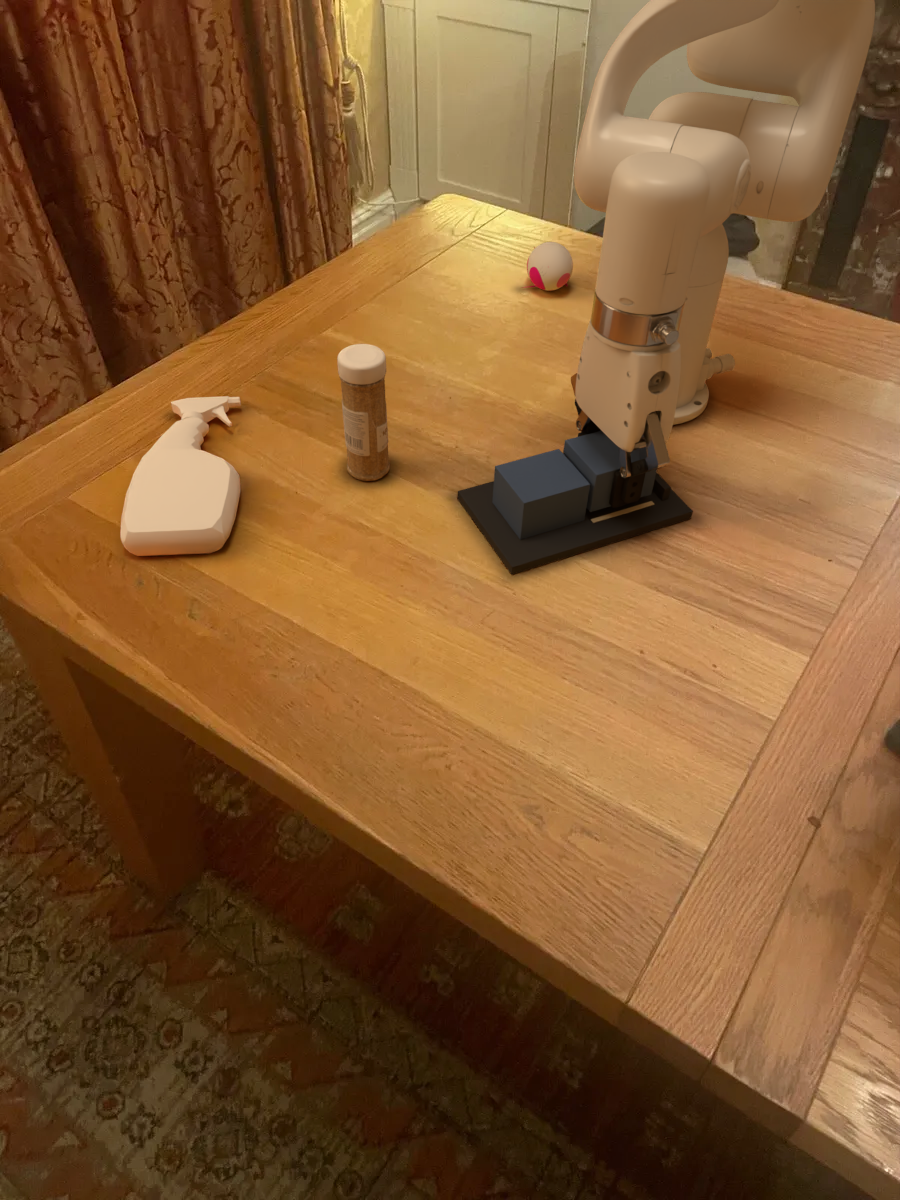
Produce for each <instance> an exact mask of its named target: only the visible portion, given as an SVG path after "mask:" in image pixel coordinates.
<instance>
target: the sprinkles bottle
mask: <svg viewBox="0 0 900 1200" xmlns="http://www.w3.org/2000/svg"><path fill="white" fill-rule="evenodd" d="M336 360H337V362H336V363H337V374H338V376H339V380H340V387H341V406H342V420H343V431H344V444H345V446H346V456H347V464H346V471H347V472H348V474H349V475H350V476H351V477H353V478H354V479H356V480H360V481H363V482H370V481H371V482H372V481H377V480H379V479H382V478H383V477H385V476H386V475H387V474H388V473H389V472H390V468H391V462H390V458H389V457H390V455H389V430H388V412H387V410H388V409H387V399H386V384H385V383H386V380H385V379H386V374H387V358H386V354H385V351H384V350H383V349H382V348H380V347H379V346H377V345H374V344H369V343H355V344H351V345H348V346H346V347H344V348H343V349H341V350H340V351H339V353H338V354H337V359H336Z"/></svg>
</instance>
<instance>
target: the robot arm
mask: <svg viewBox="0 0 900 1200" xmlns="http://www.w3.org/2000/svg"><path fill="white" fill-rule="evenodd" d="M875 19H876V2H875V0H649V1H648V2H647V3H646V4H644V5H643V6H642V8H640V10H638V11H637V13H636V14H634V15H633V16H632V18H630V20H629V21H628V22H627V24H626V25H625V26H624V27H623V29H622V30H621V31H620V32H619V33H618V35H617V37H616V38H615V39H614V41H613V42H612V44H611V45H610V47H609V49H608V50H607V52H606V54H605V56H604V58H603V60H602V62H601V63H600V66H599V68H598V70H597V73H596V75H595V78H594V82H593V85H592V89H591V93H590V96H589V101H588V104H587V108H586V113H585V115H584V120H583V123H582V128H581V132H580V136H579V140H578V145H577V149H576V154H575V161H574V167H573V168H574V169H573V184H574V185H573V186H574V189H575V193H576V195H577V197H578V198H579V200H580V201H581V203H582V204H584V206H586V207H588V208H590V209H591V210H594V211H597V212H601V213H604V214H605V218H604V226H603V233H602V240H601V247H600V254H599V259H598V260H599V261H598V269H597V275H596V282H595V289H594V295H593V299H592V300H593V301H592V309H591V315H590V318H589V321H588V324H587V328H586V330H585V334H584V339H583V343H582V346H581V351H580V355H579V359H578V360H579V361H578V365H577V372H576V373H574V374H573V375H571V376H570V383H571V387H572V391H573V394H574V398H575V399H574V406H575V408H576V412H577V415H578V416H577V418H576V420H575V427H576V429H577V431H578V433H577V437H579V436H583V435H587V434H591V433H594V432H598V431H603V432H604V434H605V435H606V436H607V437H608V438H609V439H611V440H612V441H613V442H614V443H615V444H616V445H617V446H618V448H619V465H620V471H618V472H615V475H614V480H613V486H612V491H611V496H610V502H609V504H610V505H611V506H612V507H613V508H616V507H620V506H623V505H627V504H630V503H633V502H637V501H638V500H639V499H640V497H641V492H642V488H643V483H644V478H645V474H646V472H650V471H652V470H655V469H657V470H658V469H661V468H664V467H667V466H669V465H670V464H671V459H670V455H669V450H668V447H667V443H668V442H669V440H670V437H671V434H672V430H673V426H674V425H679V424H683V423H687V422H689V421H692V420H694V419H695V418H697V417H699V416H700V415H702V413H703V412H704V411H705V410H706V408H707V406H708V402H709V397H710V390H709V387H708V385H707V383H706V381H707V380H709V379H711V378H712V377H713V376H714V375H715V374H723V373H726V372H730V371H733V370H734V368H735V365H736V361H735V358H734V355H732V354H731V353H726V354H722V355H718V356H715V357H713V358H712V356H713V354H712V352H713V351H712V349H711V348H709V347H708V344H709V341H710V340H709V339H710V335H711V332H712V327H713V324H714V320H715V315H716V311H717V307H718V302H719V299H720V295H721V291H722V286H723V283H724V280H725V279H724V278H725V274H726V271H727V268H728V267H727V266H728V262H729V255H730V249H729V248H730V247H729V239H728V236H727V232H726V229H725V227H724V222H725V221H726V220H728V218H730V216H731V215H732V214H735V215H741V216H746V217H747V216H748V217H753V218H759V219H765V220H770V221H777V222H784V223H785V222H787V223H794V222H801V221H803V220H805V219H807V218H808V217H810V216H811V215H812V214H813V213H814V212H815V211H816V209H818V207H819V205H820V203H821V201H822V200H823V197H824V195H825V193H826V191H827V188H828V186H829V183H830V180H831V177H832V173H833V171H834V168H835V164H836V161H837V157H838V154H839V151H840V148H841V144H842V141H843V138H844V134H845V131H846V128H847V124H848V120H849V117H850V114H851V111H852V108H853V104H854V101H855V97H856V95H857V91H858V88H859V84H860V81H861V77H862V74H863V70H864V67H865V65H866V61H867V56H868V53H869V49H870V45H871V42H872V38H873V32H874V28H875V27H874V26H875ZM684 46H686V61H687V65H688V68H689V70H690V72H691V73H692V74H693V76H694V77H696V78H697V79H699V80H701V81H703V82H705V83H708V84H712V85H716V86H719V87H723V88H724V87H725V88H729V89H730V88H731V89H735V90H742V91H747V92H750V91H751V92H757V93H761V94H762V93H764V94H770V95H776V96H777V95H779V96H785V97H789V98H793V99H794V100H795V101H796V103H797V105H794V104H787V103H780V102H773V101H767V100H766V101H765V100H758V99H754V98H751V97H745V96H744V97H743V96H736V95H729V94H722V93H715V92H707V91H685V92H679V93H676V94H673V95H670V96H669V97H667V98H665V99H664V100H662V101H661V102H660V103H658V104H657V106H656V107H655V108H654V109H653V110H652V112H651V114H650V115H649V117H648V118H644V117H636V116H629V115H628V116H627V115H625V114H624V113H625V110H626V107H627V104H628V101H629V99H630V96H631V94H632V92H633V90H634V89H635V86H636V85H637V83H638V81H639V80H640V79H641V77H642V76H643V75H644V74H645V73H646V72H647V71H648V69H650V68H651V67H653V65H654V64H655V63H657V62H658V61H660V59H662V58H663V57H666V55H668V54H670V53H672V52H673V51H676V50H678V49H680V48H682V47H684ZM636 449H639V457H640V460H638V461H635V462H632V463H631V452H632V451H633V450H636Z"/></svg>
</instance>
